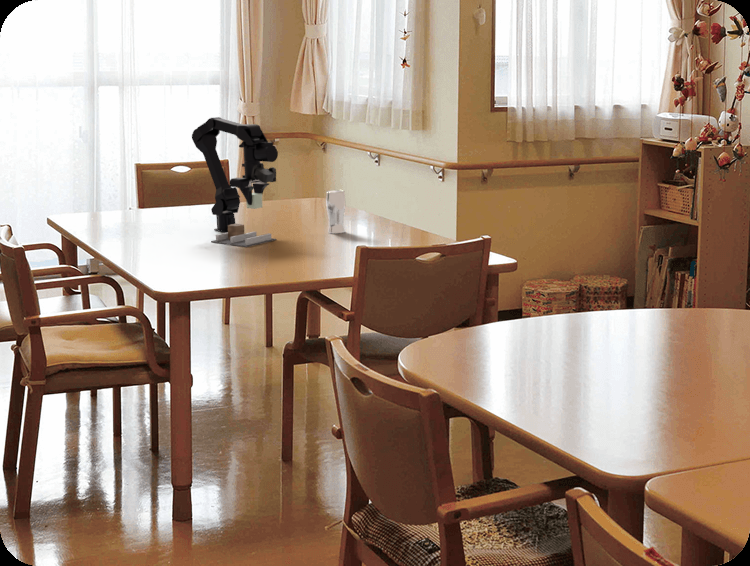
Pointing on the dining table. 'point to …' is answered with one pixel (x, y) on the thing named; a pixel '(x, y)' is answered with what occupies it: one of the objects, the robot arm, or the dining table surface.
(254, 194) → the sage block
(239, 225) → the walnut block
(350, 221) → the dining table surface
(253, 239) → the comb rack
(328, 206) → the white tall carton
